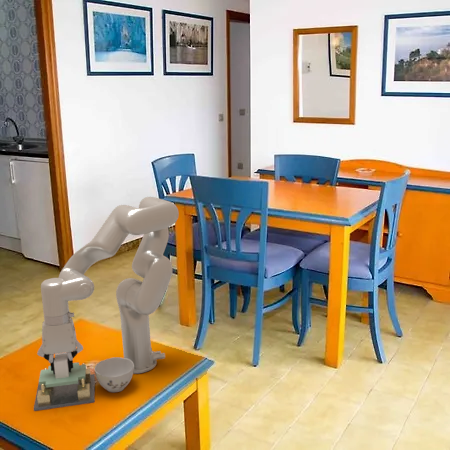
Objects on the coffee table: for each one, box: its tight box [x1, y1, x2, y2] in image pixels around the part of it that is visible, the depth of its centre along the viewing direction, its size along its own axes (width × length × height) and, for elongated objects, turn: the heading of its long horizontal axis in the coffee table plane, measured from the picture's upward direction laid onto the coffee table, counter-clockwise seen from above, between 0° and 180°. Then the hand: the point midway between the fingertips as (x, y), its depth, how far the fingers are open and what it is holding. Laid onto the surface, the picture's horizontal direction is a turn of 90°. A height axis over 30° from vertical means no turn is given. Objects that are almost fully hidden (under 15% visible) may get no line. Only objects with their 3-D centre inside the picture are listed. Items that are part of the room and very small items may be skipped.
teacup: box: [93, 357, 134, 393], centre depth 183 cm, size 15×12×8 cm
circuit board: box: [38, 352, 87, 388], centre depth 179 cm, size 14×12×6 cm
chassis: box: [33, 362, 96, 412], centre depth 180 cm, size 18×16×7 cm
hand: (62, 370), depth 179 cm, fingers closed on circuit board, 4 cm apart
